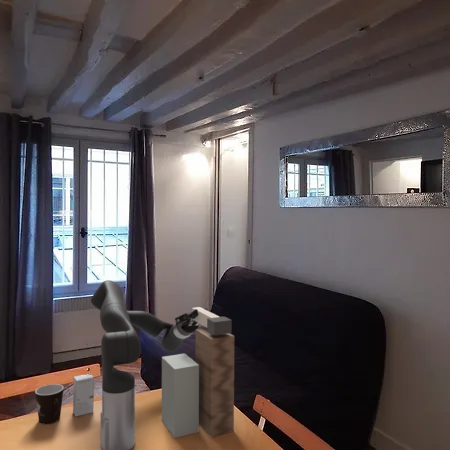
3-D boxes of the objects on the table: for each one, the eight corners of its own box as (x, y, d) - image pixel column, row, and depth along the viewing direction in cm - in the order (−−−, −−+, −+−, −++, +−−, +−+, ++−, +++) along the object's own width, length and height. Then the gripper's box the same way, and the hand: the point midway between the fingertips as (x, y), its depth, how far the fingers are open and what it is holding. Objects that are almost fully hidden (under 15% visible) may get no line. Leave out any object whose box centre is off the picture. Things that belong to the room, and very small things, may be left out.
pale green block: (174, 438, 124) (174, 369, 124) (161, 420, 135) (161, 357, 134) (198, 431, 128) (199, 365, 127) (184, 415, 138) (184, 353, 138)
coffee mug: (37, 415, 138) (37, 385, 137) (64, 411, 140) (64, 382, 140) (31, 432, 126) (31, 400, 126) (61, 428, 129) (61, 397, 129)
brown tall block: (210, 437, 125) (211, 339, 124) (195, 419, 135) (195, 329, 135) (233, 431, 128) (234, 335, 128) (216, 414, 139) (217, 326, 138)
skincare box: (75, 417, 137) (75, 381, 136) (72, 411, 140) (72, 376, 140) (94, 412, 140) (94, 377, 140) (90, 407, 144) (90, 372, 143)
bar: (214, 335, 124) (214, 322, 124) (188, 319, 143) (188, 308, 143) (231, 332, 127) (231, 320, 127) (203, 317, 146) (203, 306, 146)
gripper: (166, 318, 152) (180, 302, 138) (200, 314, 158) (218, 299, 145) (169, 338, 148) (184, 324, 135) (204, 333, 155) (222, 320, 141)
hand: (201, 311), depth 140 cm, fingers closed on bar, 3 cm apart
